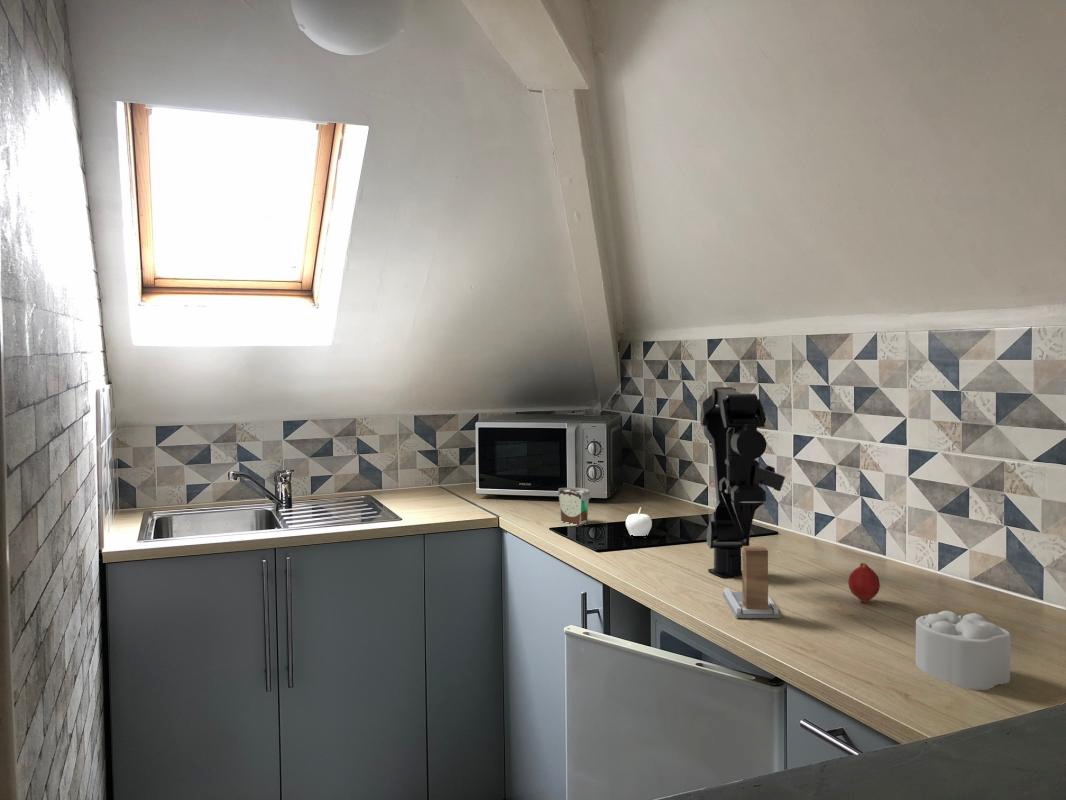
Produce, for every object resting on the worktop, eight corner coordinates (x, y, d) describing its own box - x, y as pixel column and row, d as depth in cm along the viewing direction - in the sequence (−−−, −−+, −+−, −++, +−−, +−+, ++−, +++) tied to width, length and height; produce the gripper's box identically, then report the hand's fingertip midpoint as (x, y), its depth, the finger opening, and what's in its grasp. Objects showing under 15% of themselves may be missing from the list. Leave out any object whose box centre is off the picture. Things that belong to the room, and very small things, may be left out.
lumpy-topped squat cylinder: (976, 693, 123) (977, 634, 122) (898, 665, 134) (899, 611, 134) (1019, 679, 128) (1020, 622, 127) (940, 653, 139) (941, 601, 139)
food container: (599, 525, 248) (599, 491, 248) (583, 527, 245) (582, 493, 244) (574, 518, 259) (574, 486, 258) (558, 521, 255) (557, 488, 255)
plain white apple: (656, 538, 230) (656, 508, 229) (633, 540, 227) (632, 510, 227) (644, 533, 236) (644, 504, 236) (621, 535, 234) (621, 506, 233)
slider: (722, 596, 174) (722, 587, 174) (762, 596, 173) (762, 587, 173) (736, 618, 159) (736, 609, 159) (779, 618, 158) (779, 609, 158)
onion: (854, 596, 172) (854, 557, 172) (883, 601, 168) (883, 561, 168) (844, 603, 168) (844, 562, 167) (874, 608, 164) (874, 567, 164)
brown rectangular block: (738, 606, 164) (737, 545, 163) (766, 606, 164) (766, 545, 163) (743, 613, 159) (742, 551, 158) (772, 613, 159) (772, 551, 158)
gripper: (792, 458, 164) (793, 539, 165) (771, 450, 183) (771, 523, 183) (733, 459, 165) (734, 539, 165) (718, 451, 184) (719, 523, 184)
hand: (741, 530), depth 174 cm, fingers open, 9 cm apart
